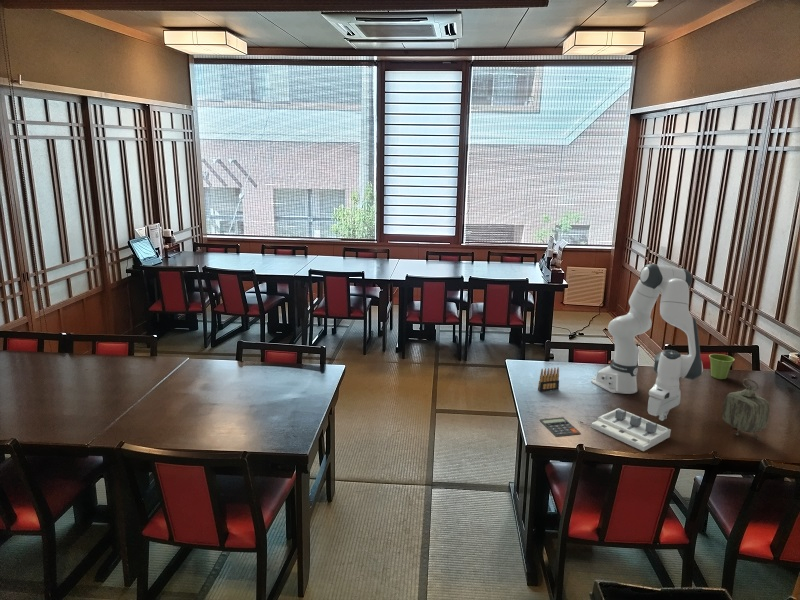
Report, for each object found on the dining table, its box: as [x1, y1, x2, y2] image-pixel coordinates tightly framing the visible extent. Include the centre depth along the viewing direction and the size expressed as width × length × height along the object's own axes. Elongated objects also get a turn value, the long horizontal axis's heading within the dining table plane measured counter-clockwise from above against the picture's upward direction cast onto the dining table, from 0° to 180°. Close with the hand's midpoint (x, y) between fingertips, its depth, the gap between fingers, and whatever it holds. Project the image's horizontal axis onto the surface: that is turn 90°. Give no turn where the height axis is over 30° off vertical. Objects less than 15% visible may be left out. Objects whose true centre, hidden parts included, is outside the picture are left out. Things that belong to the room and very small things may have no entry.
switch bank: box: [590, 407, 672, 452], centre depth 225 cm, size 24×20×4 cm
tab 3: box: [645, 420, 658, 434], centre depth 221 cm, size 3×3×4 cm
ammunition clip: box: [537, 366, 560, 393], centre depth 265 cm, size 11×2×12 cm, turn 104°
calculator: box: [539, 416, 581, 438], centre depth 229 cm, size 12×1×15 cm
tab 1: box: [615, 408, 627, 421], centre depth 232 cm, size 3×3×4 cm
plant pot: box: [708, 353, 735, 380], centre depth 284 cm, size 12×12×11 cm
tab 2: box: [630, 414, 643, 427], centre depth 227 cm, size 3×3×4 cm
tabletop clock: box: [721, 378, 771, 440], centre depth 222 cm, size 14×9×25 cm, turn 20°
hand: (662, 419), depth 224 cm, fingers closed
